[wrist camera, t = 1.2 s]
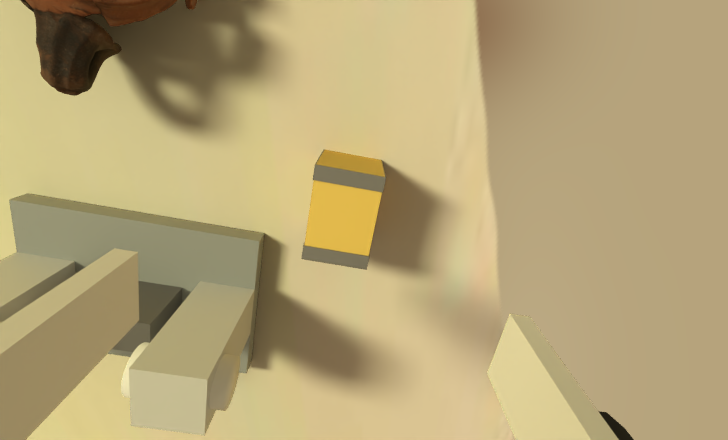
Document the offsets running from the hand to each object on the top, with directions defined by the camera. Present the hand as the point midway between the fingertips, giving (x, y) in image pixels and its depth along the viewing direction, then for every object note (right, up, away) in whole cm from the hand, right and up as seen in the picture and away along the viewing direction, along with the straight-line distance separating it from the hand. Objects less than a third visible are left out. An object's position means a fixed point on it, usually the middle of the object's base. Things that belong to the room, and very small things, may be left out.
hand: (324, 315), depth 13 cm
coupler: (0, +5, +14) cm, 15 cm away
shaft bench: (-15, -2, +16) cm, 22 cm away
